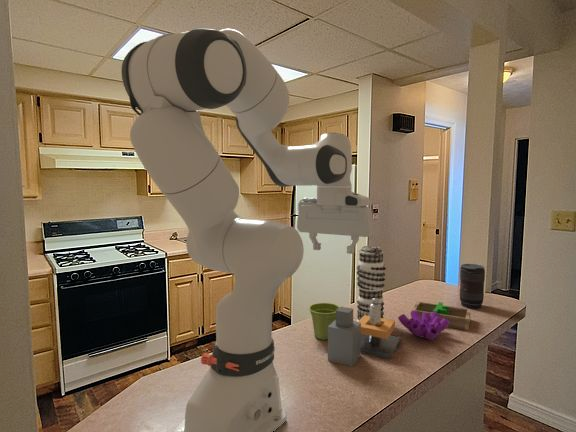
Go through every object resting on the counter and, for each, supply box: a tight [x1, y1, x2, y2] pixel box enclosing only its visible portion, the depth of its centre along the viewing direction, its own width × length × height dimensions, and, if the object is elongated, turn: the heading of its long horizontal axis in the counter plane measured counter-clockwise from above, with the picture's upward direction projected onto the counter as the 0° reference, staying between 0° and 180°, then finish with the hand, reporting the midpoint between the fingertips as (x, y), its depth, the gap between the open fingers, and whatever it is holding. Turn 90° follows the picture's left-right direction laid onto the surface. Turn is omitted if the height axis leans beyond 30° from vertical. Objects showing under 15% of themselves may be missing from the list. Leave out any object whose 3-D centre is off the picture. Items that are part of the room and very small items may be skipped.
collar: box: [358, 315, 396, 339], centre depth 102 cm, size 9×9×2 cm
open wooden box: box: [410, 301, 472, 331], centre depth 121 cm, size 10×17×4 cm, turn 61°
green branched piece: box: [433, 301, 450, 315], centre depth 121 cm, size 10×4×4 cm, turn 147°
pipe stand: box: [360, 298, 402, 360], centre depth 102 cm, size 12×12×14 cm
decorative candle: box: [356, 245, 387, 322], centre depth 119 cm, size 9×9×25 cm
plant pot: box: [308, 302, 341, 341], centre depth 109 cm, size 9×9×9 cm
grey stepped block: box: [327, 306, 361, 367], centre depth 95 cm, size 7×7×13 cm
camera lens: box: [459, 263, 486, 310], centre depth 134 cm, size 8×8×15 cm
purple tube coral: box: [398, 310, 450, 340], centre depth 109 cm, size 11×15×10 cm
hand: (333, 251), depth 95 cm, fingers open, 8 cm apart
